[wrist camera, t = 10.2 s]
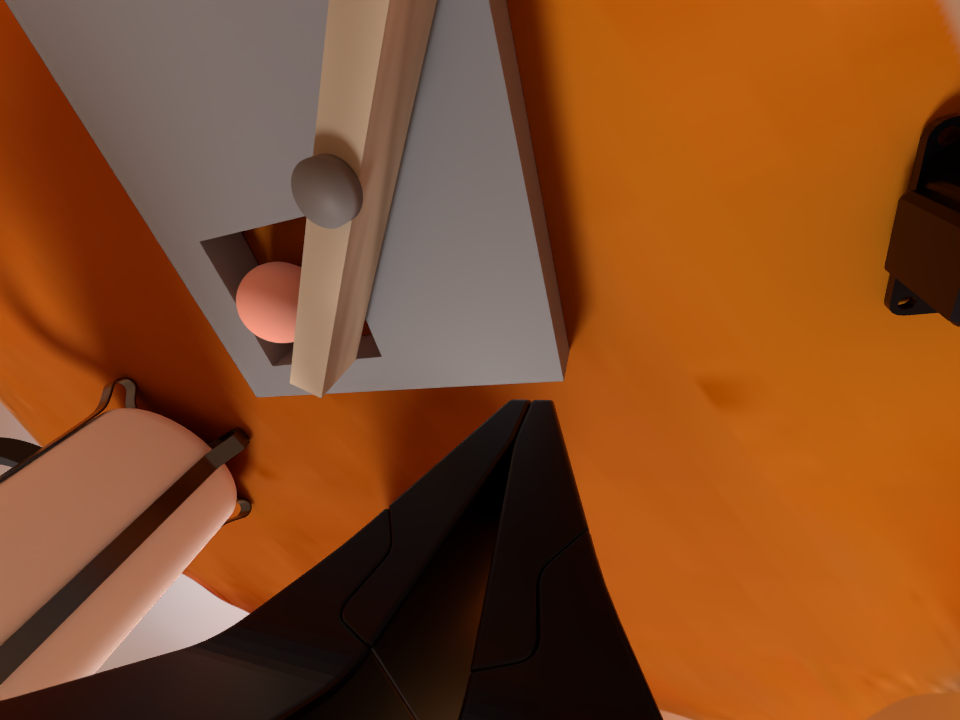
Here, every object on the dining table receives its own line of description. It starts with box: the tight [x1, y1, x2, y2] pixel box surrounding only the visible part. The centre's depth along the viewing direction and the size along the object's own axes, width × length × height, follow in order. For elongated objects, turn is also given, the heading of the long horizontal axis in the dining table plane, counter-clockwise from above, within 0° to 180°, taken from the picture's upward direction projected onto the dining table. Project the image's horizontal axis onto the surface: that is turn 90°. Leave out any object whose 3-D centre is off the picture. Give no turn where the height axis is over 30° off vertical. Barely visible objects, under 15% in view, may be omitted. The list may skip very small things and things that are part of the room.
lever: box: [290, 0, 437, 398], centre depth 12 cm, size 2×24×4 cm, turn 159°
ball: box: [236, 262, 301, 343], centre depth 22 cm, size 4×4×4 cm
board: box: [5, 0, 570, 397], centre depth 18 cm, size 18×21×2 cm
